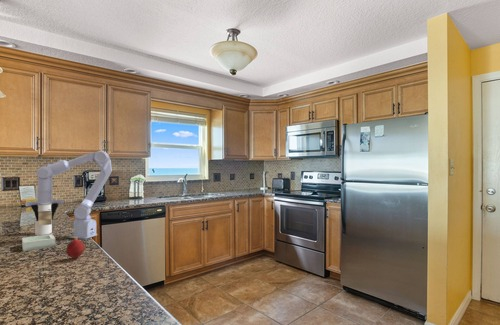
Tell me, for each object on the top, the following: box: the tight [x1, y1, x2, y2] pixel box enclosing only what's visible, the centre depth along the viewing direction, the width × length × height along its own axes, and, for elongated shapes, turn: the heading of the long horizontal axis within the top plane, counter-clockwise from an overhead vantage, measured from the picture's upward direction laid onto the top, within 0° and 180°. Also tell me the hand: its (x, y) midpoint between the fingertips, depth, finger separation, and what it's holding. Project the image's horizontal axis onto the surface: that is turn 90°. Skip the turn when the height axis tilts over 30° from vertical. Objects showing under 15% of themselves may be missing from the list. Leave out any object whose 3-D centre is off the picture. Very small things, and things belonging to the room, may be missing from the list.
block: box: [38, 211, 53, 226], centre depth 133 cm, size 5×5×6 cm
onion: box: [65, 237, 86, 260], centre depth 105 cm, size 6×6×8 cm
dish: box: [21, 233, 56, 252], centre depth 122 cm, size 11×11×4 cm
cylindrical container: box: [34, 185, 54, 236], centre depth 147 cm, size 7×7×25 cm
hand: (44, 220), depth 133 cm, fingers closed on block, 5 cm apart
